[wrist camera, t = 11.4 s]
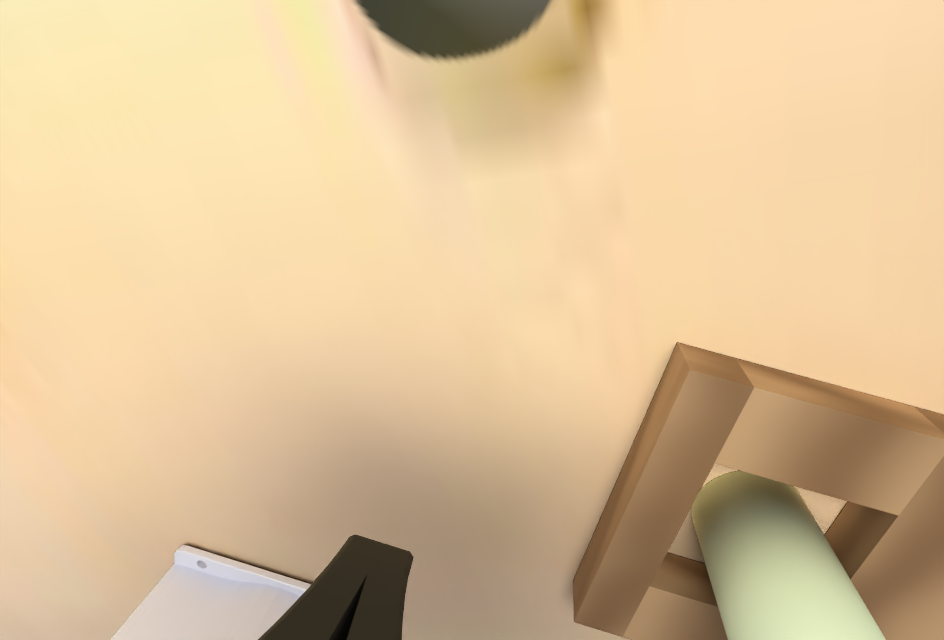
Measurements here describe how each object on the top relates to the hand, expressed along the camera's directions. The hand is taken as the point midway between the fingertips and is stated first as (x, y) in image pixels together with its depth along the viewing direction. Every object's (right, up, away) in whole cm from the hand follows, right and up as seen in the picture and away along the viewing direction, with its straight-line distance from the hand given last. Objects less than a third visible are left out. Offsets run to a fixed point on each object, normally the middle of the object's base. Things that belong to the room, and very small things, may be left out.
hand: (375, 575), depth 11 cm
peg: (+13, -2, +9) cm, 16 cm away
